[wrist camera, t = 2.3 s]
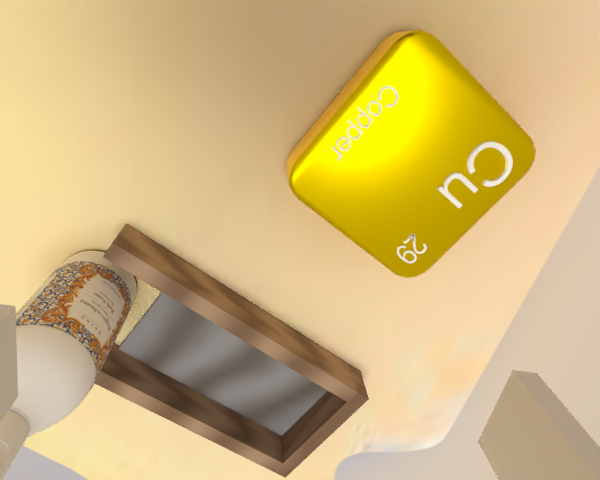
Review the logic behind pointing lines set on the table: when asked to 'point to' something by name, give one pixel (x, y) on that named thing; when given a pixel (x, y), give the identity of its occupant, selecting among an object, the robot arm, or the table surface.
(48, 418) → the bath foam
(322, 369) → the brown wooden tray
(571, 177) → the table surface
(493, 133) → the element tile
